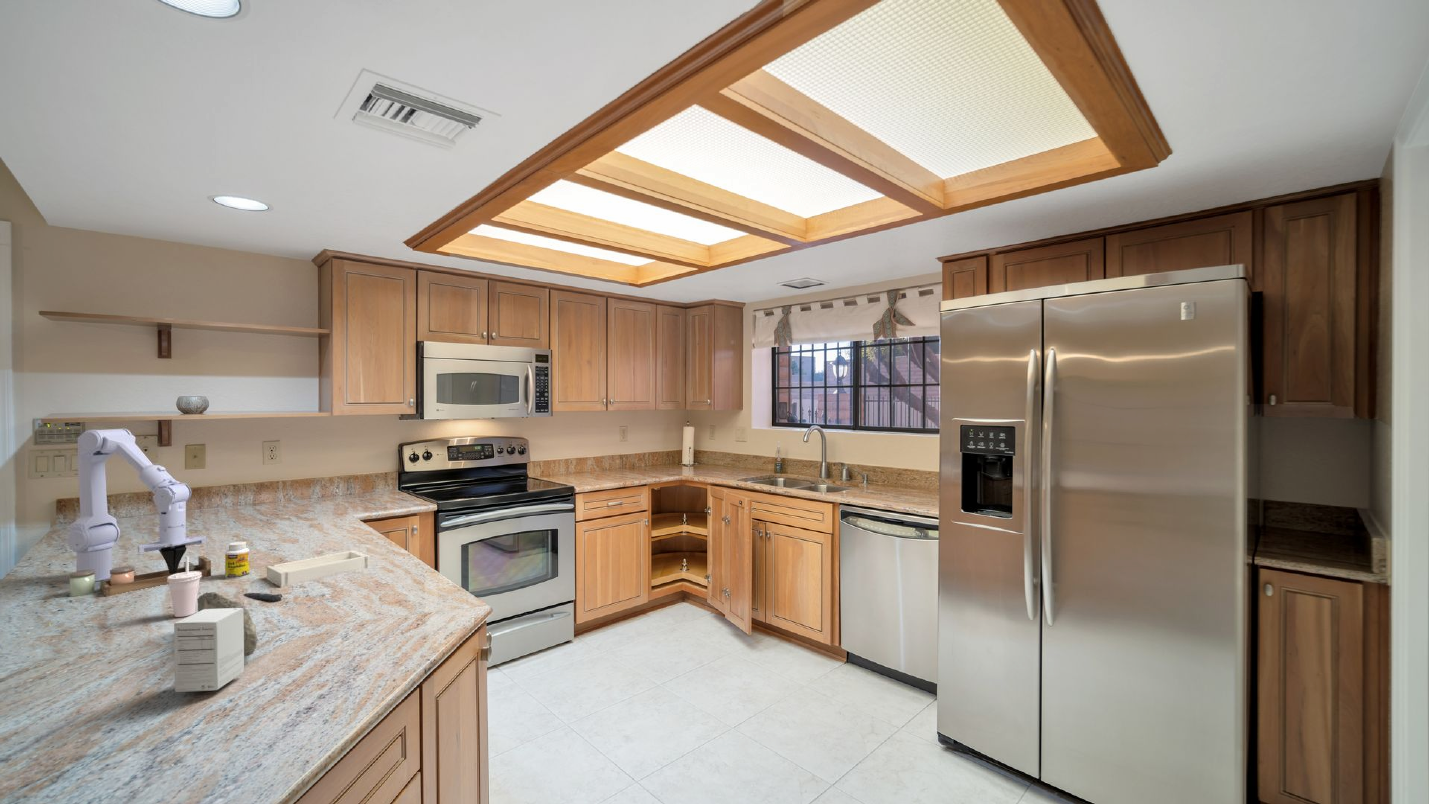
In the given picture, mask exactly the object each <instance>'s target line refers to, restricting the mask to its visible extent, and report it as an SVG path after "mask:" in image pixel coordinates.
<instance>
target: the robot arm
mask: <svg viewBox="0 0 1429 804" xmlns="http://www.w3.org/2000/svg"><path fill="white" fill-rule="evenodd" d="M77 452H78V453H77V472H78V473H77V474H78V477H77V478H78V491H79V511H80V512H79V513H80V517H79V518H77V520H75V521H73V523H71V524H70V525H69V533H68V536H67V539H66V540H67V544H68V547H69V548H70V549H72V551H73V553H76V554H75V555H76V558H75V560H76V563H75V564H76V568H75V569H76V571H82V570H95V574H94V576H95V582H100V581H106V580H110V570H111V569H113V547H114V546H115V545H116V542H118V540H119V539H120V537H121V530H120V528H119V525H118V521H117V518H116V517H114V516H112V515H110V514H109V513H108V498H107V481H106V480H107V478H106V476H107V475H106V461H107V460H108V459H109V458H110V457H112V456H113V455H118V456H120V457H121V458H122V459H123V460H124V461H125V462H126V463H128V464H129V465H130V466H132V467H133V468H134V469H135V470H136V471H137V472H138V473H139V474H138V479H139V480H140V481H141V482H142V483H143V484H144V485H145V487H147V489H148V490H150V491H151V492H152V493H153V494H154V495H152V500H153V501H154V503H155V505H156V507H157V508H156V511H157V512H158V516H159V517H158V518H159V519H158V521H159V523H158V524H159V525H158V526H159V527H158V530H159V531H158V532H159V533H158V537H159V539H158V541H156V542H150V543H146V544H140V545H137V553H138V554H145V553H147V552H153V551H158V552H159V553H160V555H161V556H162V557H163V560H164V561H165V563H166V566H167V570H169V573H170V574H173V573H177V569H178V568H179V565H180V562H181V561H182V558H183V556H184V554H185V553H186V552H187V547H188V546H193V545H204V544H205V545H206V542H207V537H206V536H205V535H202V536H201V535H200V536H195V537H187V502H188V501H189V500H190V499H191V497H192V489H191V487H190V486H189V484H188V483H186V482H180V481H178V480H176V479H175V478H174V477H173V476H172V475H170V474H169V473H168V471H167V469H166V467H165V466H162V465H159V464H156V465H155V464H153V462H151V460H150V459H149V458H148V457H147V455H145V453H144V452H143V451H142V449H140V447H139V446H138V445H137V444H136V436H135V435H133V434H132V433H131V431H130V430H129V429H127V428H124V427H123V428H122V427H121V428H113V429H112V428H111V429H109V428H108V429H88V430H85V431H84V432H83V433H82V434H80V436H78V437H77ZM76 571H75V572H76Z"/></svg>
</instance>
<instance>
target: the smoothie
mask: <svg viewBox="0 0 1429 804" xmlns="http://www.w3.org/2000/svg"><path fill="white" fill-rule="evenodd" d="M185 562H186V572H183V573H177V574H173V575H171V576H168V577H167V582H169V584H168V586H169V591H170V597H171V602H172V603H171V604H172V607H173V613H174V617H176V618H183V617H189V616H191V615H193V614H195V613H196V607H197V602H198V600H197V599H198V595H199V594H198V593H199V588H200V579H201V578H200V577H202V573H201V572H199V571H190V572H189V562H190V556H187V555H186V556H185Z"/></svg>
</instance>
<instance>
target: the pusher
mask: <svg viewBox="0 0 1429 804" xmlns="http://www.w3.org/2000/svg"><path fill="white" fill-rule="evenodd" d="M194 565H195V564H194V563H191V562H190V561H189V572H190V571H196V567H194ZM183 567H184V572H186V561H184V562H183Z"/></svg>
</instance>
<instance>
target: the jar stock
mask: <svg viewBox="0 0 1429 804" xmlns="http://www.w3.org/2000/svg"><path fill="white" fill-rule="evenodd" d="M134 576H135V566H132V565H130V566H129V565H128V566H126V565H125V566H120V567H115V568H112V569H111V570H110V579H109V580H110V586H113V585H118V584H124V583H130V582H134Z"/></svg>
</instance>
